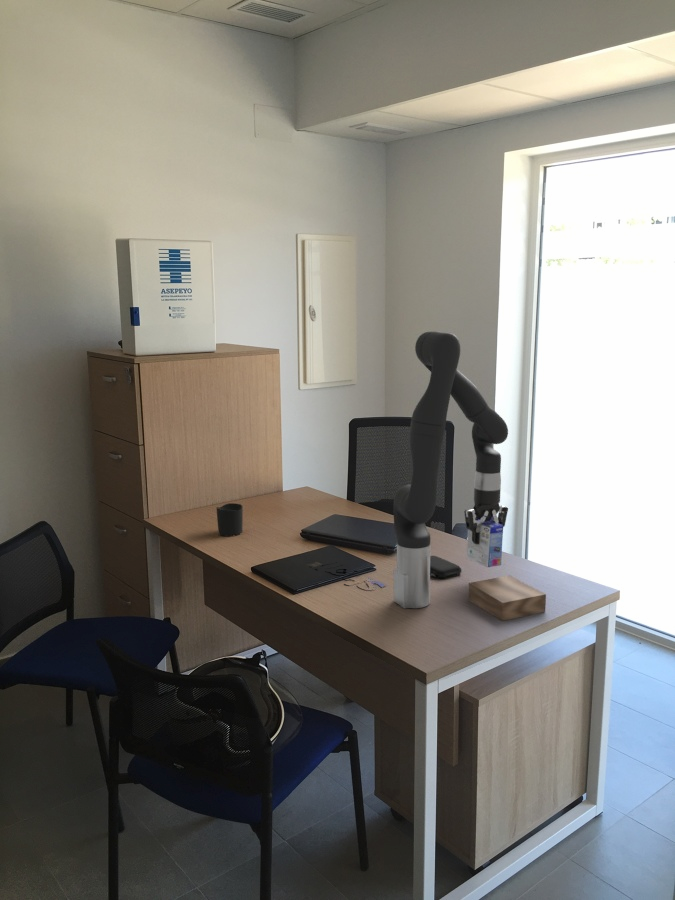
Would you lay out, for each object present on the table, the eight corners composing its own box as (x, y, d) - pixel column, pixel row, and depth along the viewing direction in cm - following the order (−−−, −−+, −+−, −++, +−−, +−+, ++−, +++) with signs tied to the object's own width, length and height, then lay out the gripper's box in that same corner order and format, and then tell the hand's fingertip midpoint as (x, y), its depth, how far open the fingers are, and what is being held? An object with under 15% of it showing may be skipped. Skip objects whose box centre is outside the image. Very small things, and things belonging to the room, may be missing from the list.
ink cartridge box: (502, 565, 225) (504, 517, 223) (488, 568, 223) (490, 520, 220) (479, 555, 234) (481, 509, 231) (465, 559, 231) (467, 512, 228)
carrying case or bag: (407, 568, 245) (437, 582, 232) (407, 559, 244) (437, 572, 232) (433, 562, 250) (464, 575, 238) (433, 553, 250) (464, 566, 237)
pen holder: (245, 535, 279) (244, 509, 278) (218, 537, 277) (217, 511, 275) (241, 528, 288) (240, 502, 286) (216, 530, 286) (215, 504, 284)
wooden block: (502, 620, 204) (502, 602, 203) (468, 599, 218) (468, 582, 217) (545, 611, 209) (545, 594, 208) (509, 591, 223) (510, 575, 223)
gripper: (473, 491, 218) (471, 549, 221) (515, 487, 223) (512, 543, 227) (459, 486, 224) (457, 541, 227) (500, 481, 230) (497, 536, 233)
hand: (484, 542), depth 227 cm, fingers closed on ink cartridge box, 5 cm apart
